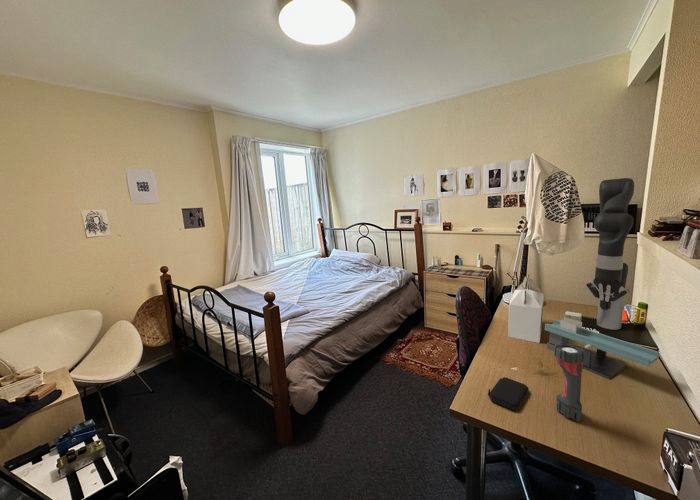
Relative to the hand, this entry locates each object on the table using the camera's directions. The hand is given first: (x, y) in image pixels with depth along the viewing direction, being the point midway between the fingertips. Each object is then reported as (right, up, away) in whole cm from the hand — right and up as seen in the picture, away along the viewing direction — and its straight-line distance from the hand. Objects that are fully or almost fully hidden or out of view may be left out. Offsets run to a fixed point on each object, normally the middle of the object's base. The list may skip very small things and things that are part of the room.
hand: (604, 309), depth 112 cm
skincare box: (+7, -19, +26) cm, 33 cm away
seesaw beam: (+1, -20, +6) cm, 21 cm away
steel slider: (-5, -12, +11) cm, 17 cm away
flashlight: (-28, -30, -17) cm, 45 cm away
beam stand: (-1, -23, +10) cm, 25 cm away
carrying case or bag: (-42, -30, -8) cm, 52 cm away
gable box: (-9, -19, +36) cm, 41 cm away
